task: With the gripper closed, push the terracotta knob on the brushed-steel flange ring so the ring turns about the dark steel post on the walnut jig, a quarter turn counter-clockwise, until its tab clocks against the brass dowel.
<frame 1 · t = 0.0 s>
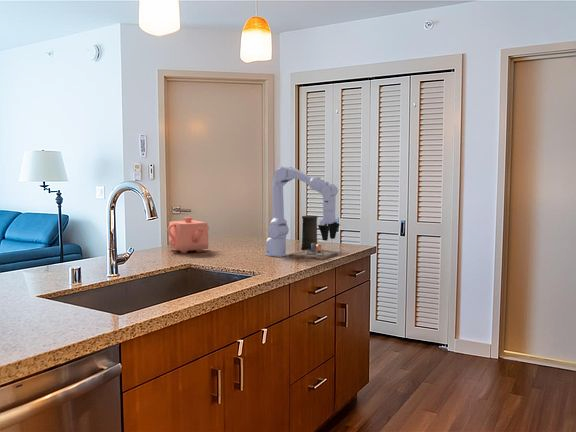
hand: (328, 239, 241), 10 cm above the worktop, fingers open, 7 cm apart
container: (309, 250, 277), on the worktop
jig base: (313, 255, 256), on the worktop
teapot: (191, 252, 267), on the worktop
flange: (315, 248, 254), point 4 cm above the worktop, hinge at 0.0°
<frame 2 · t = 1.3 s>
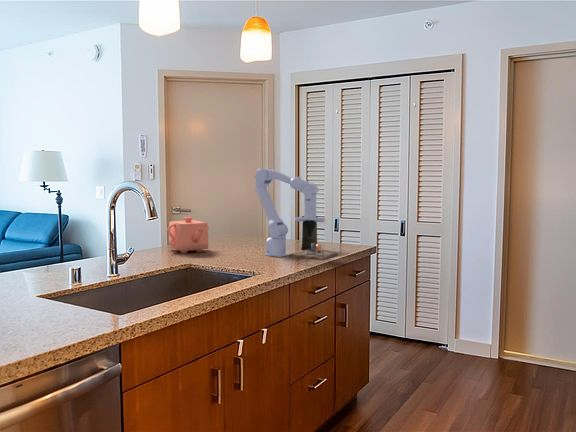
hand: (309, 236, 248), 10 cm above the worktop, fingers closed
nothing on the worktop moved.
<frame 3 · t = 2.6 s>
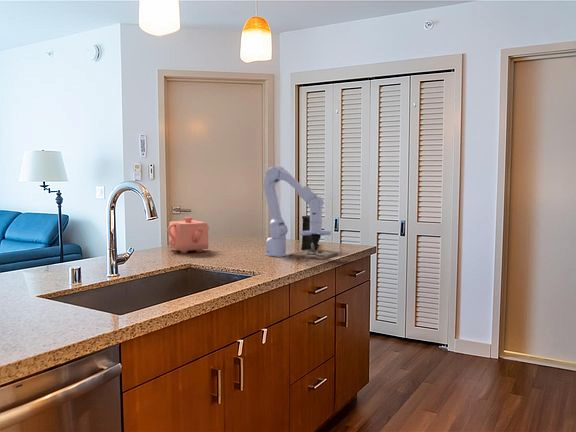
hand: (315, 250, 249), 4 cm above the worktop, fingers closed
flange: (315, 248, 254), point 4 cm above the worktop, hinge at 3.6°, touching gripper
everything else where it was.
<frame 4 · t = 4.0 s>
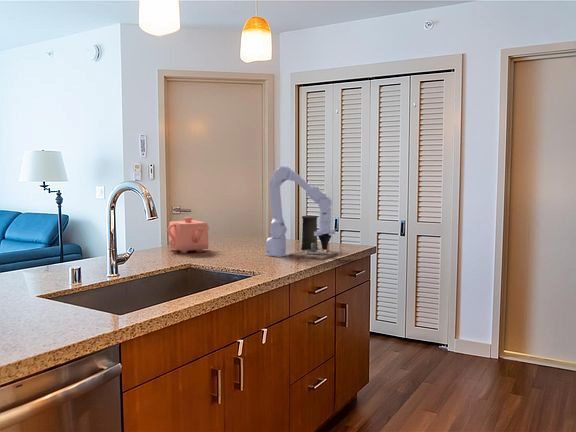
hand: (324, 249, 251), 4 cm above the worktop, fingers closed
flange: (317, 248, 255), point 4 cm above the worktop, hinge at 47.0°, touching gripper
everything else where it was.
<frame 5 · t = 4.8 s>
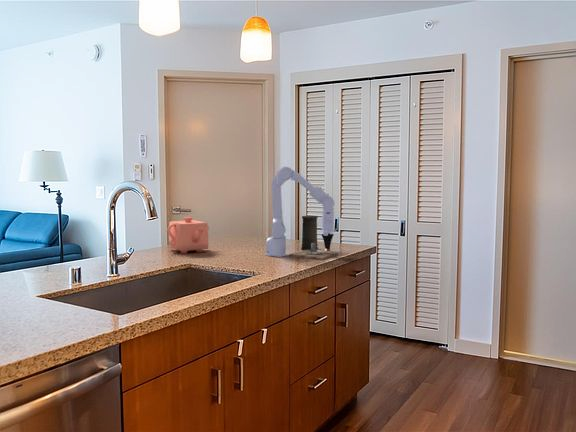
hand: (327, 248, 254), 4 cm above the worktop, fingers closed
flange: (317, 247, 256), point 4 cm above the worktop, hinge at 75.0°, touching gripper
everything else where it was.
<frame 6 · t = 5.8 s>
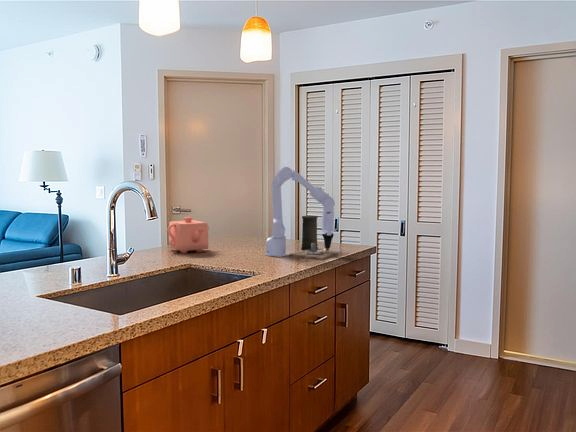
hand: (327, 248, 255), 4 cm above the worktop, fingers closed
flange: (317, 247, 256), point 4 cm above the worktop, hinge at 91.1°, touching gripper
everything else where it was.
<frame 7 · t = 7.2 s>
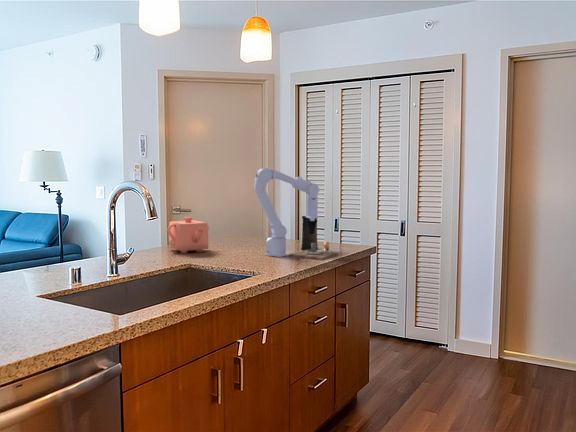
hand: (311, 234, 259), 10 cm above the worktop, fingers closed
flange: (317, 247, 256), point 4 cm above the worktop, hinge at 91.2°
everything else where it was.
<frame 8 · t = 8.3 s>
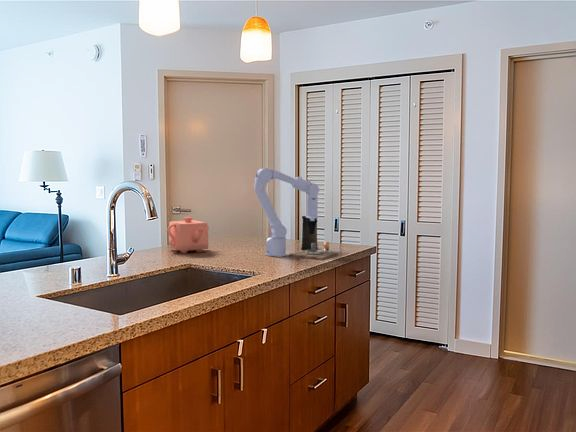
hand: (311, 234, 259), 10 cm above the worktop, fingers closed
nothing on the worktop moved.
at the end: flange at +91° (first picture: +0°) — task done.
